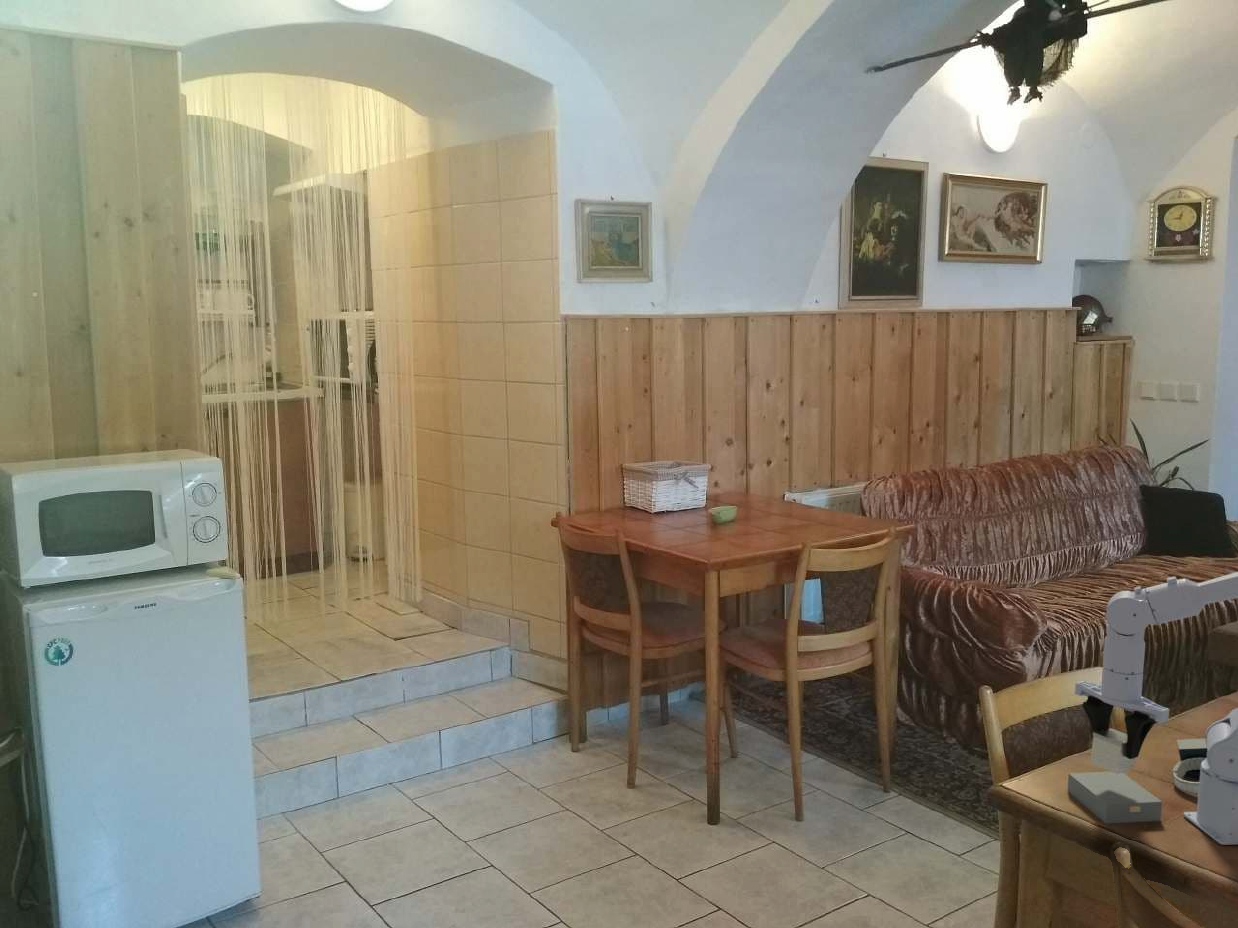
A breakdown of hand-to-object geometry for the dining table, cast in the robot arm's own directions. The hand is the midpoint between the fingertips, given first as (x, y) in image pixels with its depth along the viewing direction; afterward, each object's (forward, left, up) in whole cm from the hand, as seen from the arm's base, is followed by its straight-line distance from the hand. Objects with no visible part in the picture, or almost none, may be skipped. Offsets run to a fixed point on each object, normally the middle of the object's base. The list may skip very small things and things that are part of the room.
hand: (1116, 750), depth 164 cm
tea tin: (0, +1, -2) cm, 2 cm away
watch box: (0, 0, -10) cm, 10 cm away
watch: (+11, -21, -6) cm, 24 cm away
